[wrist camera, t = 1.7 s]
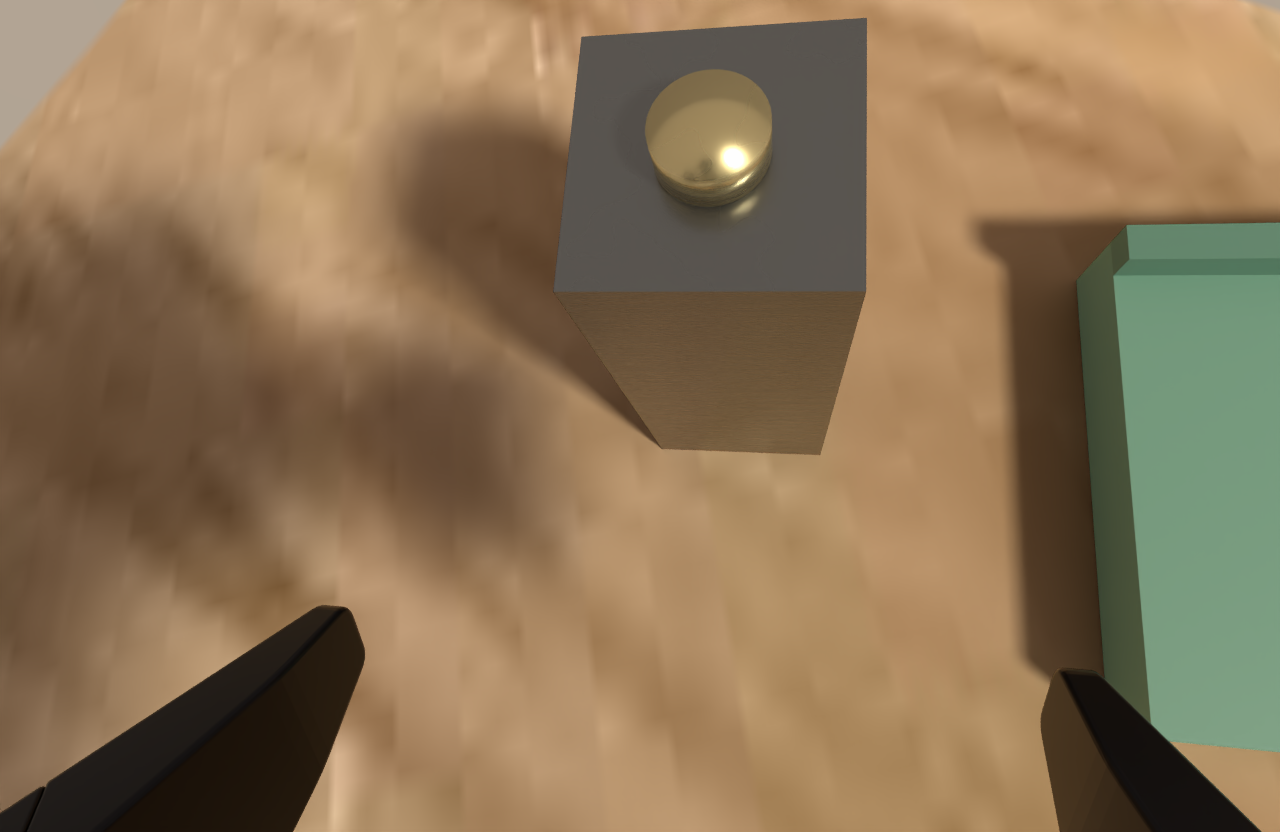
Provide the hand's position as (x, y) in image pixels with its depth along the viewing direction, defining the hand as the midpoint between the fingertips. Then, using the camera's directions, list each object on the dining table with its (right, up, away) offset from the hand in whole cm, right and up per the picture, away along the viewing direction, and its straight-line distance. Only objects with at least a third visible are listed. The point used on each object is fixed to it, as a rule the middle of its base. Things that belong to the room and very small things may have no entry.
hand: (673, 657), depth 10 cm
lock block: (+3, +4, +15) cm, 16 cm away
